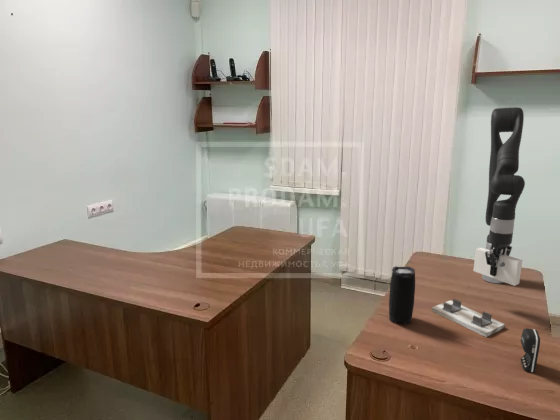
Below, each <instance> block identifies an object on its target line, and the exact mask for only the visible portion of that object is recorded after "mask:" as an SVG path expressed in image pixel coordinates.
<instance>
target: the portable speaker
mask: <svg viewBox="0 0 560 420" xmlns="http://www.w3.org/2000/svg"><path fill="white" fill-rule="evenodd" d="M391 271H392V272H391V278H390V283H389V295H388V296H389V299H388V316H389V318H388V319H389V321H390V322H392V323H393V324H396V323H403V324H404V325H409V324H411V322H412V318H413V313H414V306H415V294H416V270H415V268H414V267H412V266H396V265H395V266H394V267H392V270H391Z"/></svg>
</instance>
